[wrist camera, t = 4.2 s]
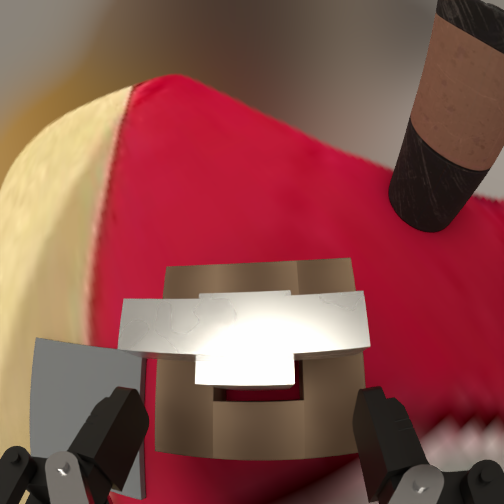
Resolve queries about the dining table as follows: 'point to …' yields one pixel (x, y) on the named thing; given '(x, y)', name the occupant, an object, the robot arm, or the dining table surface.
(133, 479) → the grey mat
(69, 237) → the dining table surface
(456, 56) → the travel mug
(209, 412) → the socket block
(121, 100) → the dining table surface
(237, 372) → the t key
